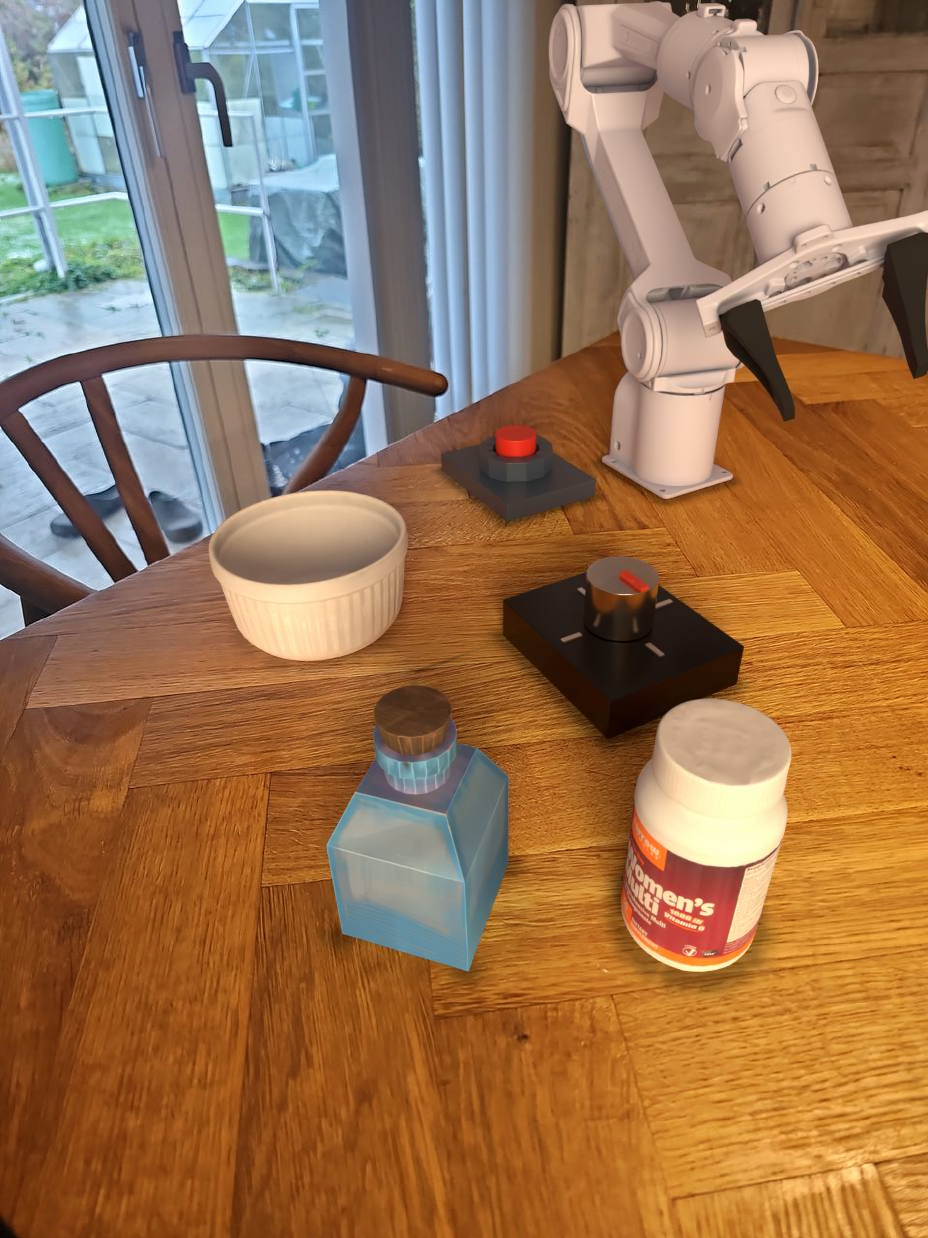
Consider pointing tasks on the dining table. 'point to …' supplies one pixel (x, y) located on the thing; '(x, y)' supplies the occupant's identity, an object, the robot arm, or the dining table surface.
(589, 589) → the dial
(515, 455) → the button
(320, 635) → the ramekin
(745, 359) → the robot arm
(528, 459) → the button block
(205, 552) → the dining table surface
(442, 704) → the perfume bottle
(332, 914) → the dining table surface
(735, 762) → the pill bottle
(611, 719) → the panel
